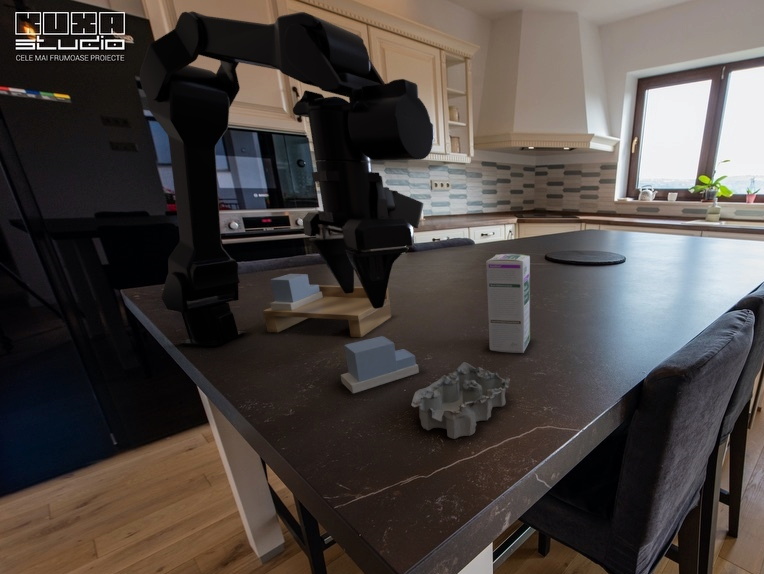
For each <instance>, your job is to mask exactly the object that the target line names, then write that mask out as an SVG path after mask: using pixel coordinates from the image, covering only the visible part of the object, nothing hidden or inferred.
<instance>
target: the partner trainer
mask: <svg viewBox="0 0 764 574" xmlns="http://www.w3.org/2000/svg"><path fill="white" fill-rule="evenodd" d="M269 280H270V285H271V289H272V294H273V299H274V301H272V302H270V303H269V305H270V308H271V309H273V310H294V309H296V308H299V307H301V306H304V305H306V304H308V303H311V302H313V301H315V300H318V299H320V298H323V295H322V292H320V290H319V285H320V284H310V281H309V275H308V273H307V274H306V273H288V274H285V275H281V276H278V277H274V278H271V279H269Z"/></svg>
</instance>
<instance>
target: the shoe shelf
mask: <svg viewBox="0 0 764 574" xmlns="http://www.w3.org/2000/svg"><path fill="white" fill-rule="evenodd" d="M318 285H319V290H320V292H322V295H323V298H320V299H318V300H315V301H313V302H311V303H308V304H306V305H304V306H301V307H299V308H296V309H294V310H273V309H271V307H269V308H267V309H264V310H262V313H263V317H264V321H265V325H266V330H267V332H268V333H280V332H282V331H284V330H286V329H289V328H290V327H292V326H295V325H297V324H299V323H301V322H303V321H306V320H307V319H326V320H342V321H343V320H344V321H348V327H349V328H348V329H349V334H350V337H351V338H362V337H364V336H365V335H367V334H368V333H370V332H371V331H373V330H374V329H376V328H377V327H379V326H380V325H382V324H383V323H385V322H386V321H388V320H389V319H391V318H392V312H391V301H390V294H389V293H390V292H389V287H387V291H386V296H385V301H384V306H383V307H382V308H377V309H375V308H373V306H372V305H371V303H370V301H369V299H368V297H367V295H366V293H365V291H364V289H363V287H362V286H354V292H353V293H348V294H346V293H344V291H343V290H342V288H341V287H340V285H324V284H323V285H322V284H318Z"/></svg>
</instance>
